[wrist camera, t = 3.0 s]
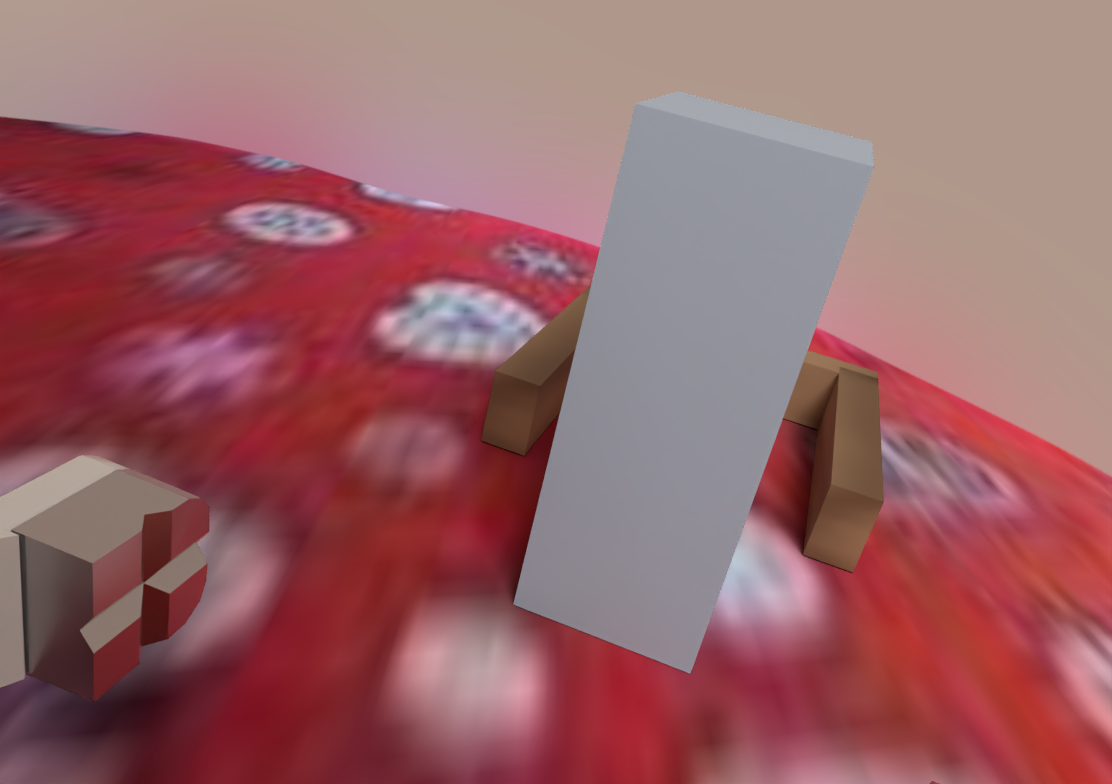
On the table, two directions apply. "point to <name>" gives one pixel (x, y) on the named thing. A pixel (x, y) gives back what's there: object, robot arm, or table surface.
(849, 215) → the grey block
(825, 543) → the wooden u-shaped frame
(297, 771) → the table surface
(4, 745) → the table surface
